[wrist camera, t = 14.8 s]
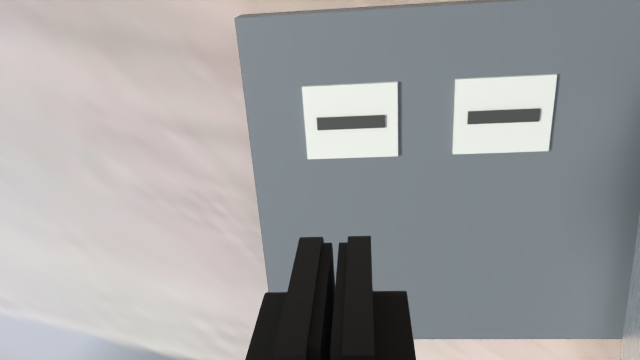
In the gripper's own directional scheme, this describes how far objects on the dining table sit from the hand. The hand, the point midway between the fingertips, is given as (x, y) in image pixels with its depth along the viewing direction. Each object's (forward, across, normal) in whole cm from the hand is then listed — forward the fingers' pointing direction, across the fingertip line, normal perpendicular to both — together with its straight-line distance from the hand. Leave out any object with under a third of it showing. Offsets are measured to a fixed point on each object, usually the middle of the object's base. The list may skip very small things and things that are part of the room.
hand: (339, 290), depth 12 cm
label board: (+15, -6, +4) cm, 17 cm away
